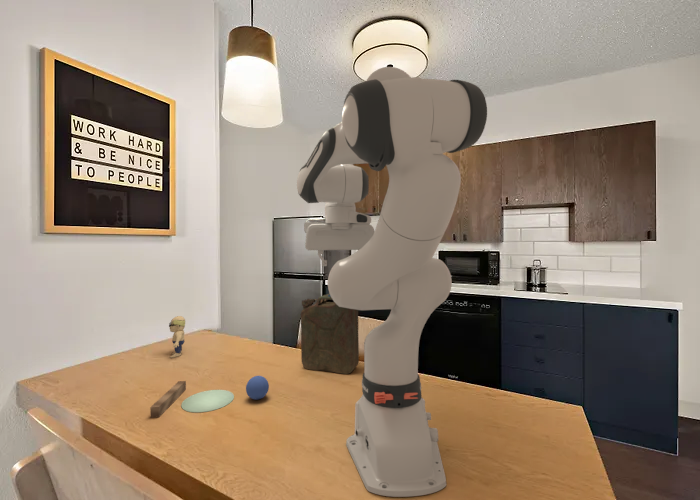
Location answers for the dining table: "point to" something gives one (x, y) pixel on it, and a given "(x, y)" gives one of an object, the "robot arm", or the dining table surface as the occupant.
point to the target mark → (207, 401)
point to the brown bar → (167, 399)
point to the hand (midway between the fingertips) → (340, 266)
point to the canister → (329, 336)
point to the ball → (257, 387)
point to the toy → (177, 334)
